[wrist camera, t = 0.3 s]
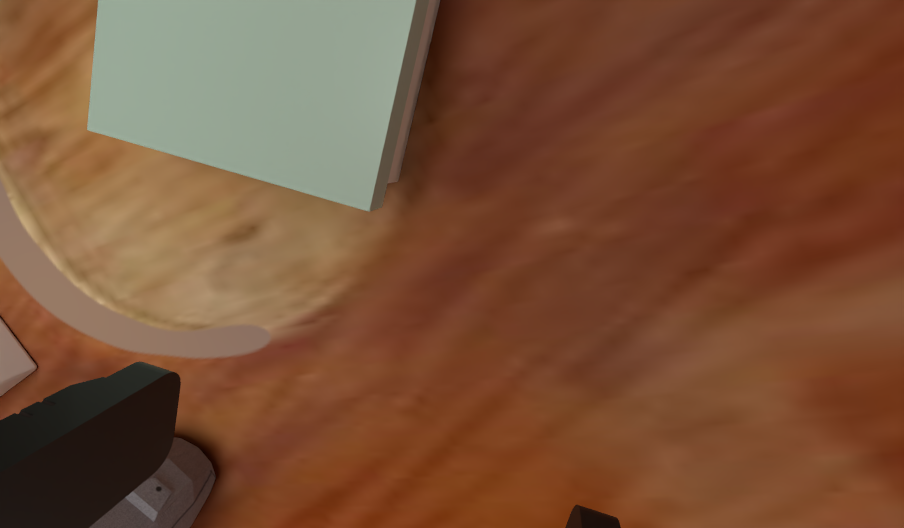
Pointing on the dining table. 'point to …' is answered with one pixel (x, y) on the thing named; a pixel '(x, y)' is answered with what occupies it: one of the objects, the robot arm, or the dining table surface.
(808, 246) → the dining table surface
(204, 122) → the lid
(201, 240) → the dining table surface
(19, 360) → the medicine bottle
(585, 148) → the dining table surface
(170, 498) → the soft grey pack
